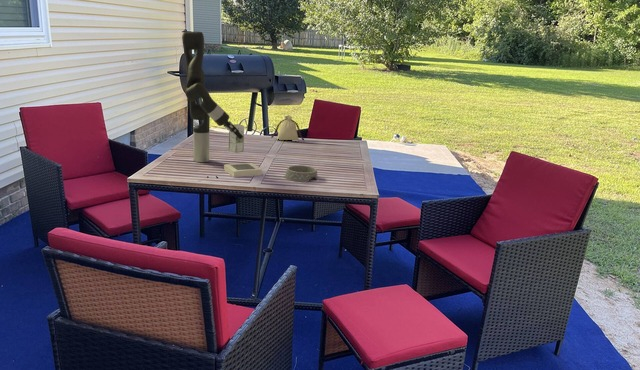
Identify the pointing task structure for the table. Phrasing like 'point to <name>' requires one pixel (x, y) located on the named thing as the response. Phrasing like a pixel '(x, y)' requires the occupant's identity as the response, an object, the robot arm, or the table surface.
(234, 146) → the syrup box
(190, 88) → the robot arm
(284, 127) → the pouch
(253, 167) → the plinth
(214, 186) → the table surface
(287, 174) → the dog bowl
